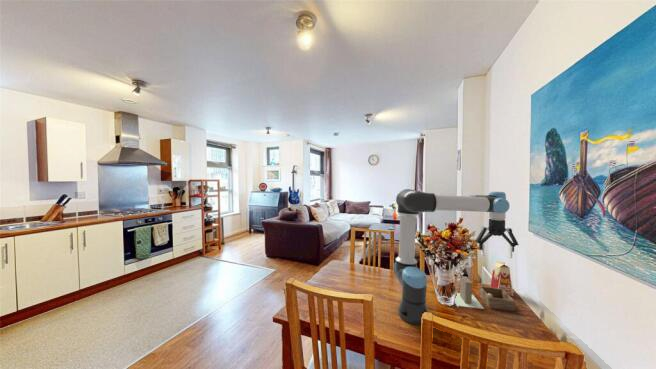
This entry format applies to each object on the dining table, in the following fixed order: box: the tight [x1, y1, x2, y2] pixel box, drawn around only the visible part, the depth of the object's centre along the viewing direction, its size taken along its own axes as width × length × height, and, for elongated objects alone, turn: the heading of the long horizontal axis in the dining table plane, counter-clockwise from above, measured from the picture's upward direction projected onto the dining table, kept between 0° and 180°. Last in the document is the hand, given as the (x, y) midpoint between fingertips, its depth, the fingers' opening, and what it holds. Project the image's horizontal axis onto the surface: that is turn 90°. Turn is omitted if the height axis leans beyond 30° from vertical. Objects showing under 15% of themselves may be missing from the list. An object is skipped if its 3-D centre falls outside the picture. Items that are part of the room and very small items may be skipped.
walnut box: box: [478, 285, 516, 312], centre depth 129 cm, size 14×12×6 cm
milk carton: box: [489, 260, 514, 297], centre depth 141 cm, size 9×9×20 cm
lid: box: [454, 275, 485, 310], centre depth 131 cm, size 15×13×13 cm
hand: (496, 256), depth 129 cm, fingers open, 13 cm apart
